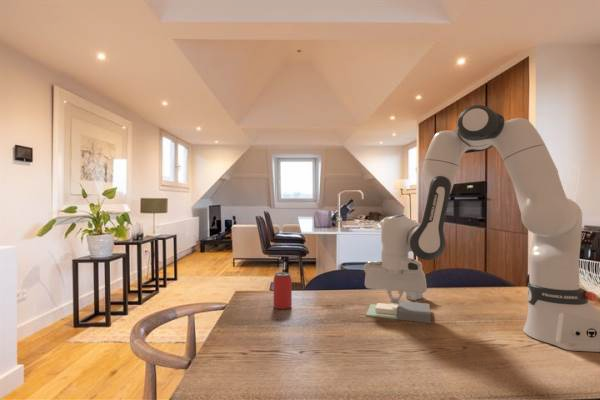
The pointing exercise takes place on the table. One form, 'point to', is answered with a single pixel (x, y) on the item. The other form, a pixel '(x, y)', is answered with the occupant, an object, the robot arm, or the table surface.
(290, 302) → the beer can
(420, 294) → the skincare box
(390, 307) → the tile
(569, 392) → the table surface
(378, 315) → the mat
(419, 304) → the block
